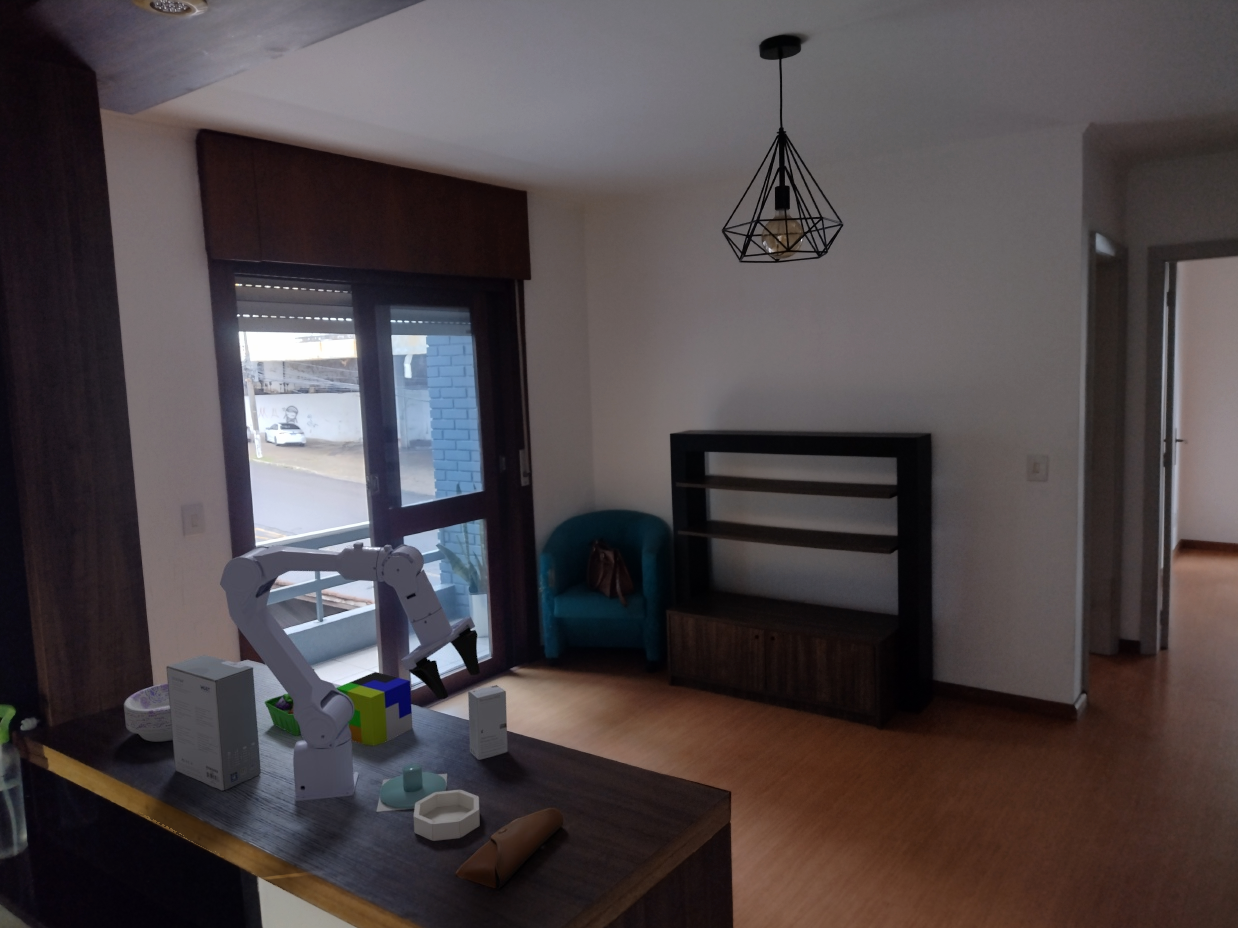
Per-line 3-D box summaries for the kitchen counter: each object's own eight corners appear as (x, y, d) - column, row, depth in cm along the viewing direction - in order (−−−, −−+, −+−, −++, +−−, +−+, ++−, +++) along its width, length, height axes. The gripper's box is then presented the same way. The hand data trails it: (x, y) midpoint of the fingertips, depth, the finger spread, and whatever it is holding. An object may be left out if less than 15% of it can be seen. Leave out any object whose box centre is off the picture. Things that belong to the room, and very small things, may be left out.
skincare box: (478, 761, 158) (476, 698, 156) (469, 752, 161) (466, 690, 160) (509, 752, 161) (507, 690, 160) (498, 744, 165) (496, 683, 163)
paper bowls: (161, 754, 163) (158, 714, 162) (109, 740, 170) (106, 702, 169) (228, 723, 177) (226, 686, 176) (178, 711, 183) (175, 676, 182)
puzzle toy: (412, 728, 173) (410, 680, 172) (373, 747, 164) (371, 697, 163) (377, 718, 178) (375, 671, 177) (338, 736, 170) (335, 687, 169)
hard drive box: (263, 774, 154) (255, 667, 152) (223, 792, 148) (214, 681, 146) (212, 754, 163) (204, 652, 160) (172, 770, 156) (163, 665, 154)
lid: (376, 811, 140) (375, 787, 139) (383, 779, 151) (382, 756, 150) (445, 804, 142) (444, 780, 141) (447, 773, 153) (446, 750, 152)
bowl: (413, 844, 131) (412, 826, 130) (417, 811, 141) (416, 793, 140) (479, 837, 132) (479, 818, 132) (479, 804, 142) (478, 787, 142)
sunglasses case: (517, 815, 139) (535, 785, 136) (551, 844, 136) (569, 815, 134) (450, 876, 122) (469, 843, 120) (487, 910, 120) (506, 878, 118)
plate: (376, 813, 140) (376, 811, 140) (383, 781, 151) (383, 779, 151) (445, 806, 142) (445, 804, 142) (447, 775, 153) (447, 773, 153)
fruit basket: (264, 724, 176) (260, 671, 175) (304, 711, 183) (301, 659, 181) (292, 740, 168) (288, 684, 167) (333, 725, 175) (330, 671, 174)
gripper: (405, 632, 137) (441, 707, 138) (470, 591, 148) (503, 661, 149) (382, 637, 142) (417, 709, 143) (447, 597, 152) (479, 665, 154)
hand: (459, 685), depth 146 cm, fingers open, 7 cm apart
